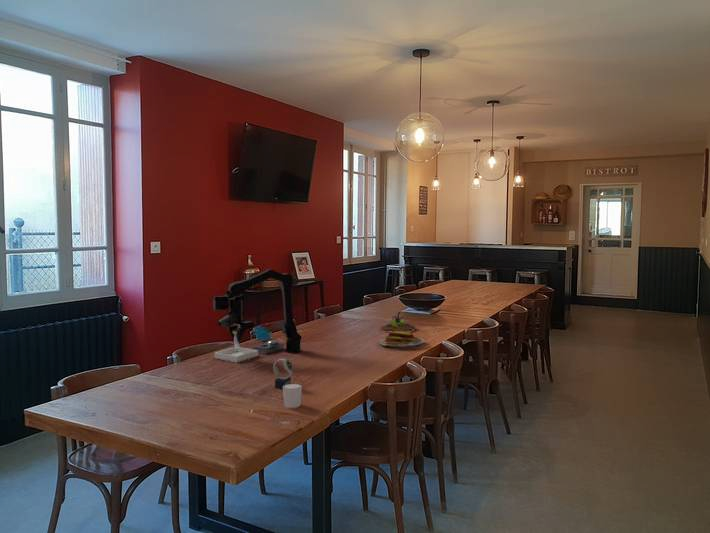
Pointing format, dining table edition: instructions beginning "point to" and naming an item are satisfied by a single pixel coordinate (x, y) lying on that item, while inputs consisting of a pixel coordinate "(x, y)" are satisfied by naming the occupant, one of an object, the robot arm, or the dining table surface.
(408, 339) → the food on plate
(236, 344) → the pin
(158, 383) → the dining table surface
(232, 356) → the tray
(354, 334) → the dining table surface
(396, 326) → the plant
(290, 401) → the shot glass
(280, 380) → the watch
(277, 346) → the block
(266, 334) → the gear
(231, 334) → the robot arm
